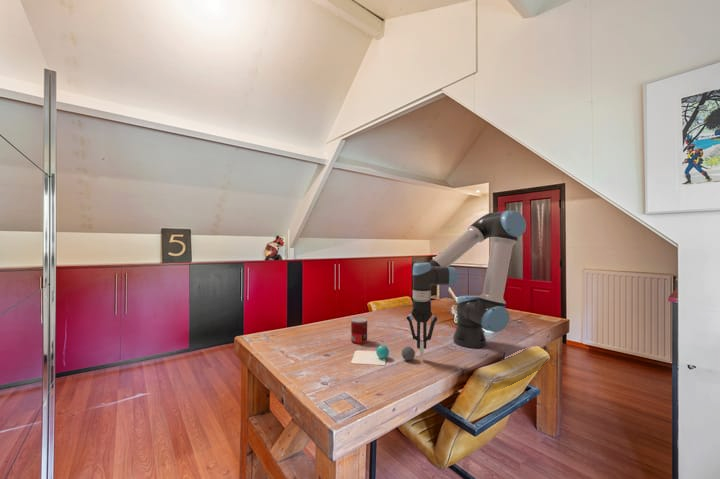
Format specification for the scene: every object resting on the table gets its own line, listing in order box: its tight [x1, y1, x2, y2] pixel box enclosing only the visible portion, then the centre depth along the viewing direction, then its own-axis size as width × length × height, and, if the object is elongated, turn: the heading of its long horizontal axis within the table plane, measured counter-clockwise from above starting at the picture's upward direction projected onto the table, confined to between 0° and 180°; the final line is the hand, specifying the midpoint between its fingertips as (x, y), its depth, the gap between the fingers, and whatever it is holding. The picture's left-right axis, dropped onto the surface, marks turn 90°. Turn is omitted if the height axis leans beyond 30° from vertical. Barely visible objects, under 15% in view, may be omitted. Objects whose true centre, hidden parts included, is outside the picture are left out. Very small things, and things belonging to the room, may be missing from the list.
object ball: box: [375, 344, 390, 359], centre depth 126 cm, size 6×6×6 cm
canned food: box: [350, 317, 368, 345], centre depth 147 cm, size 8×8×11 cm
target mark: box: [350, 350, 387, 366], centre depth 127 cm, size 14×14×1 cm
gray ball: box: [401, 346, 416, 362], centre depth 125 cm, size 6×6×6 cm
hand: (421, 355), depth 124 cm, fingers closed
